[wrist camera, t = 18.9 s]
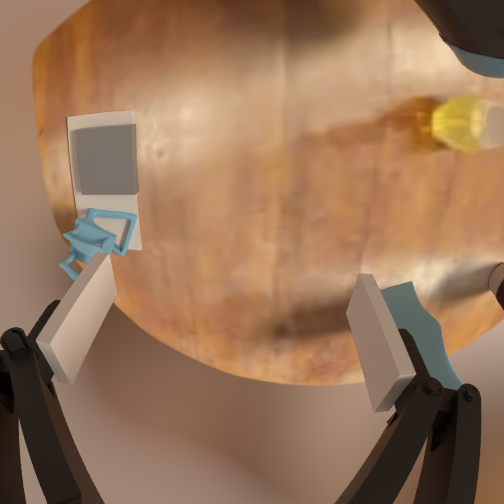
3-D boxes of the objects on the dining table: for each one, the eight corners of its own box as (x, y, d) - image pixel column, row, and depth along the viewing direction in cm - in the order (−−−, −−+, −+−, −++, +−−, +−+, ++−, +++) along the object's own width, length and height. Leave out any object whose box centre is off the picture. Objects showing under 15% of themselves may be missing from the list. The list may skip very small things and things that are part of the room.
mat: (68, 116, 37) (67, 117, 36) (133, 109, 37) (132, 109, 37) (84, 245, 48) (83, 246, 47) (142, 248, 48) (141, 250, 48)
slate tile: (136, 123, 38) (81, 127, 37) (131, 125, 36) (75, 129, 36) (138, 191, 43) (87, 191, 42) (135, 195, 41) (81, 194, 41)
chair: (92, 194, 43) (52, 228, 32) (138, 215, 45) (107, 255, 34) (83, 234, 46) (47, 274, 36) (125, 254, 48) (97, 299, 38)
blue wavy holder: (363, 295, 53) (411, 412, 31) (412, 281, 51) (474, 386, 30) (365, 331, 57) (402, 440, 36) (410, 318, 56) (457, 418, 34)
